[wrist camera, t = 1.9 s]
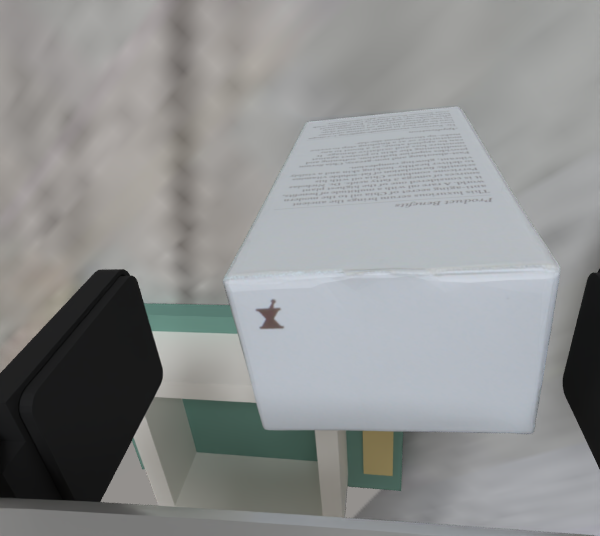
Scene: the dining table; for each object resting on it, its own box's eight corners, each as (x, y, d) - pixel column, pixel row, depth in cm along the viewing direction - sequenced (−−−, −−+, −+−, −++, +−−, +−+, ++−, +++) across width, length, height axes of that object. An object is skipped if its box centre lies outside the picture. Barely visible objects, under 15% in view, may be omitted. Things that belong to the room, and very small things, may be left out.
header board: (406, 308, 23) (409, 374, 19) (400, 475, 29) (402, 551, 25) (95, 302, 26) (44, 358, 22) (149, 456, 32) (116, 521, 28)
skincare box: (317, 218, 21) (253, 435, 11) (305, 119, 19) (211, 274, 9) (462, 209, 20) (540, 443, 10) (466, 102, 18) (568, 260, 8)
